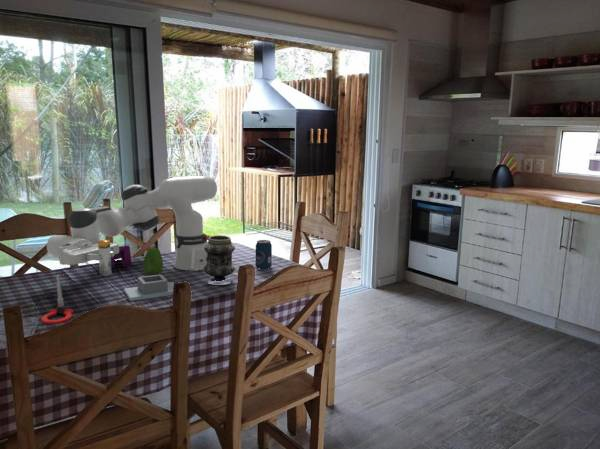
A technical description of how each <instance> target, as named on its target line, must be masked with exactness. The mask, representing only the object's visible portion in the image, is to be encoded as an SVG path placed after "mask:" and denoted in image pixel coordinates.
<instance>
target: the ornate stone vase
mask: <svg viewBox="0 0 600 449" xmlns="http://www.w3.org/2000/svg"><path fill="white" fill-rule="evenodd" d="M209 236H210V237H209V240H207V243H206V244H205V246H204V250H205V251H206V252H207V263H206V264H205V266H204V270H203V271H204V273H205V274H207V275H208V276H211V278H209V279H210V280H211V281H215V280H216V281H222V280H225V279H226V278H225V277H227V276H231V275H232V274H233V273H234V272H235V271H236V270H235V269H236V266H235V264H234V263H233V261H232V260H233V252H234V251H235V250H236V246H235V244H234V243H233V242H232V239H231V236H228V235H220V234H219V235H209Z"/></svg>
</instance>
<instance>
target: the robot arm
mask: <svg viewBox="0 0 600 449" xmlns="http://www.w3.org/2000/svg"><path fill="white" fill-rule="evenodd" d="M148 189H149V188H148V187H145V186H144V185H141V184H130V185H128V186H126V187H125V188H124V189H123V190H122V191H121V193H120V196H121V200H122V201H123V203H124V205H125V207H126V208H125V207H121V206H120V207H118V206H117V207H114V208H111V207H110V206H107V205H103V206H101V205H100V206H92V207H80V208H75V209H73V210H72V211H71V212H70V213H69V214H68V216H67V221H68V224H69V228H70V234H71V236H70V235H65V234H64V235H63V234H57V235H56V234H54V235H52V236H50V237H49V238H48V239H47V242H46V249H47V252H48V253H49V255H51V256H52V257H54V258H57V259H59V260H58V261H59V264H60V265H63V266H65V265H67V266H74V265H80V264H86V263H87V262H91V261H99V260H102V255H100V254H99V249H98V241H99V240H101V238H100V233H101V234H102V235H103V236H105V237H109V238H110V237H116V236H119V235H120V234H122V233H123V232H124V231H126V230H127V228H128V227H130V226H132V228H133V229H137V230H139V231H142V232H146V231H147V232H148V231H151V230H153V229H155V228H156V227H157V226H158V225H159V224H160V216H159V215H158V213H157V211H156V209H159V210H167V209H168V210H169V209H171V210H172V212H173V213H174V216H175V217H174V218H175V226H176V234H175V239H174V240H175V249H176V251H175V252H176V253H175V260H174V263H173V268H175V269H178V270H182V271H193V272H199V271H198V270H201V271H203V270H202V269H204V266H205V264H206V263H207V252H206V251H205V250H204V246H205V244H206V243H207V242H208V240H209V237H210V236H211V235H209V234H206V233H204V221H203V220H204V219H203V216H202V214H201V213H200V212H198V211H196V210H194V209H193V206H192V204H198V203H200V202H205V201H209V200H211V199H214V198H215V197H216V194H217V191H218V186H217V182H216V180H214V178H213V177H211V176H206V175H190V176H174V177H170V178H166V179H163V180H162V181H161V182H160V184H159V186H158V187H156V188H155V189H153V190H150V191H149V190H148ZM118 253H119V244H118V243H116V242H115V243H114V242H110V254H111V257H113V256H114V254H118Z"/></svg>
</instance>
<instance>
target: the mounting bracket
mask: <svg viewBox="0 0 600 449" xmlns="http://www.w3.org/2000/svg"><path fill="white" fill-rule="evenodd" d="M115 260H121V264H122V267H123V268H130V267H131V266H132V253H131V248H130V245H121V246H119V253H118V254H114V256H113V257H111V270H113V269H114V268H115Z"/></svg>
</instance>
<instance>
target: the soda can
mask: <svg viewBox="0 0 600 449" xmlns="http://www.w3.org/2000/svg"><path fill="white" fill-rule="evenodd" d="M272 246H273V245H272V243H271V240H269V239H259V240H257V241H256V244H255V263H254V264H255V267H257V268H260V269H268V268H270V267H272V264H273V263H272V260H273V259H272V251H273V247H272ZM257 268H256V269H257ZM270 269H271V268H270Z"/></svg>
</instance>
